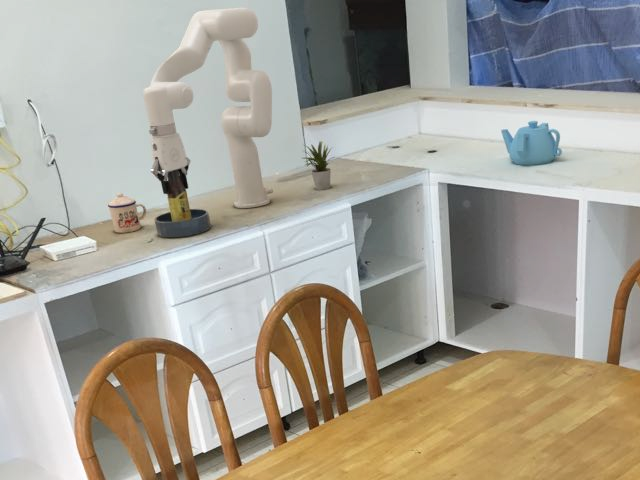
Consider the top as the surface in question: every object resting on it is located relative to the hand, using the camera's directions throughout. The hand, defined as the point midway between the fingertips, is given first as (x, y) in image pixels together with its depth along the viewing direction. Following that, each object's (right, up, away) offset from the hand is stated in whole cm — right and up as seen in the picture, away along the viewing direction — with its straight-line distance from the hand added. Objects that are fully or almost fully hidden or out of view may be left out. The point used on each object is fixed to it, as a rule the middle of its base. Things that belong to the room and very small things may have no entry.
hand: (176, 190), depth 296 cm
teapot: (+121, +32, +55) cm, 136 cm away
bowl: (+1, -11, +7) cm, 13 cm away
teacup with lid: (-19, -7, +16) cm, 26 cm away
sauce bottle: (+1, -11, +7) cm, 12 cm away
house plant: (+42, +18, +47) cm, 66 cm away
